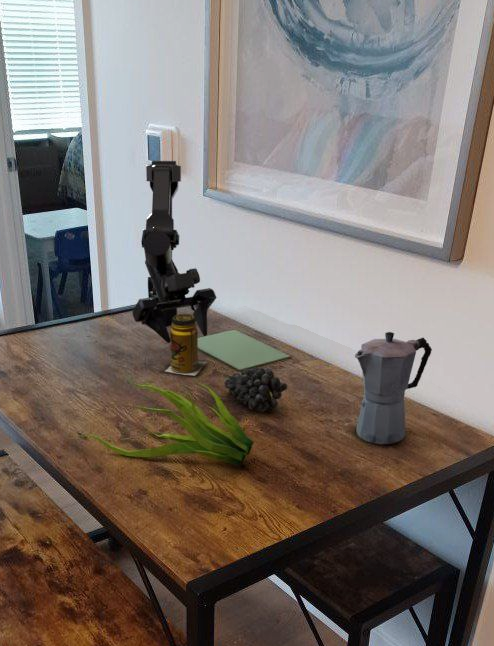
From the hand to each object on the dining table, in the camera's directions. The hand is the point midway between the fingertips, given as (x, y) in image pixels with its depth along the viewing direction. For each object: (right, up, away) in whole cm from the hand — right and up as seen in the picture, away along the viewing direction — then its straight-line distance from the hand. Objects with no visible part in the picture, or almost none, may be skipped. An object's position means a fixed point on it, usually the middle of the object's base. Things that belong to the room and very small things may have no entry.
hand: (187, 338), depth 155 cm
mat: (+12, 0, +14) cm, 18 cm away
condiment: (0, -6, +4) cm, 7 cm away
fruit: (+13, -15, -11) cm, 23 cm away
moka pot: (+37, -22, -23) cm, 48 cm away
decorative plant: (-4, -27, -31) cm, 41 cm away
